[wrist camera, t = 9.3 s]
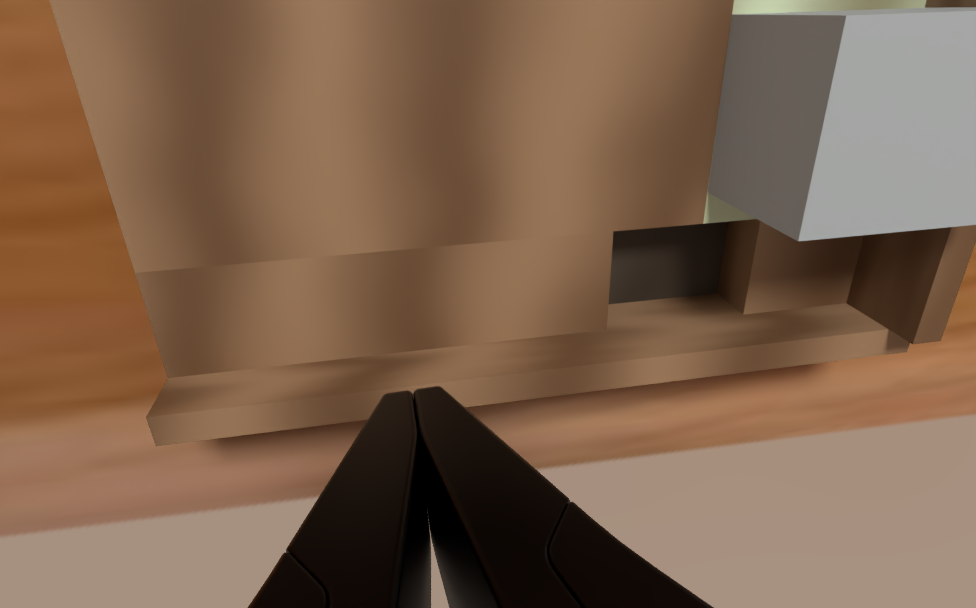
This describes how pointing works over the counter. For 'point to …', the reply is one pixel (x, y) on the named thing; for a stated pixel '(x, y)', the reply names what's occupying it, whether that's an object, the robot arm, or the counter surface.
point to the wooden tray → (458, 206)
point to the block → (849, 121)
